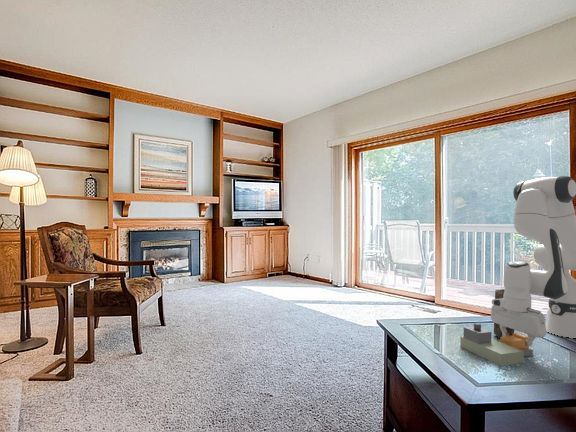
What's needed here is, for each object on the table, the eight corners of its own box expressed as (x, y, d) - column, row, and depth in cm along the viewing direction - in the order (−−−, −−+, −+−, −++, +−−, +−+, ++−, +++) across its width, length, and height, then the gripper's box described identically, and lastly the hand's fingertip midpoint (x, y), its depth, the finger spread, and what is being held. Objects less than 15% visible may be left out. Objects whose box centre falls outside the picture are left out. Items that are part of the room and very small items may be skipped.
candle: (517, 341, 141) (518, 292, 141) (497, 339, 143) (498, 291, 143) (509, 335, 149) (510, 288, 149) (490, 333, 150) (491, 287, 150)
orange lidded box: (516, 348, 134) (516, 332, 134) (528, 352, 129) (528, 336, 129) (500, 350, 132) (500, 334, 132) (512, 355, 127) (512, 338, 127)
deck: (500, 342, 140) (501, 317, 140) (545, 359, 123) (545, 331, 123) (460, 346, 134) (460, 320, 134) (500, 366, 117) (501, 336, 117)
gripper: (551, 311, 122) (550, 351, 122) (500, 298, 141) (500, 332, 141) (537, 312, 120) (537, 352, 120) (488, 299, 140) (487, 333, 140)
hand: (516, 341), depth 131 cm, fingers open, 8 cm apart
